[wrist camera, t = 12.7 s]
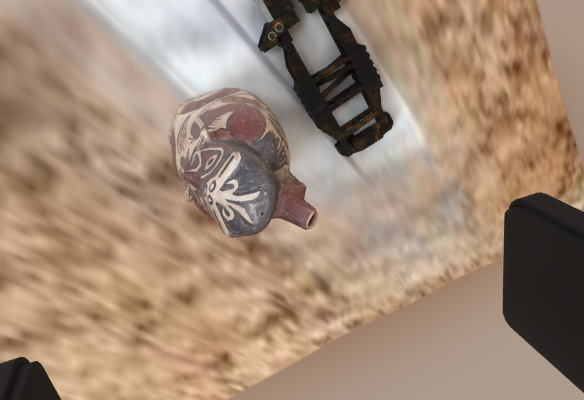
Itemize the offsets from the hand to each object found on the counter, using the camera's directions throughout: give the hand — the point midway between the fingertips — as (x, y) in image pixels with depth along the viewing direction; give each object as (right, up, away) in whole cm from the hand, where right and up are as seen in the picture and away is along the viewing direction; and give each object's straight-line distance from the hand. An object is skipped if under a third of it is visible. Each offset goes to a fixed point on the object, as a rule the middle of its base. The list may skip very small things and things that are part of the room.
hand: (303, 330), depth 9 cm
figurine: (-5, +6, +22) cm, 23 cm away
